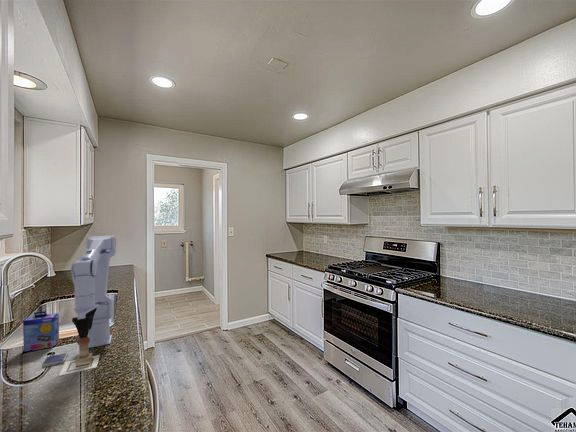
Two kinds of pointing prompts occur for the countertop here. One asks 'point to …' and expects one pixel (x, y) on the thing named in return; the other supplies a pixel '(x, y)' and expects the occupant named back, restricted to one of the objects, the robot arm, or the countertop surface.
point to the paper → (71, 367)
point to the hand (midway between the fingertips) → (85, 333)
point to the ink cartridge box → (40, 331)
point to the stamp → (83, 352)
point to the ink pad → (55, 360)
